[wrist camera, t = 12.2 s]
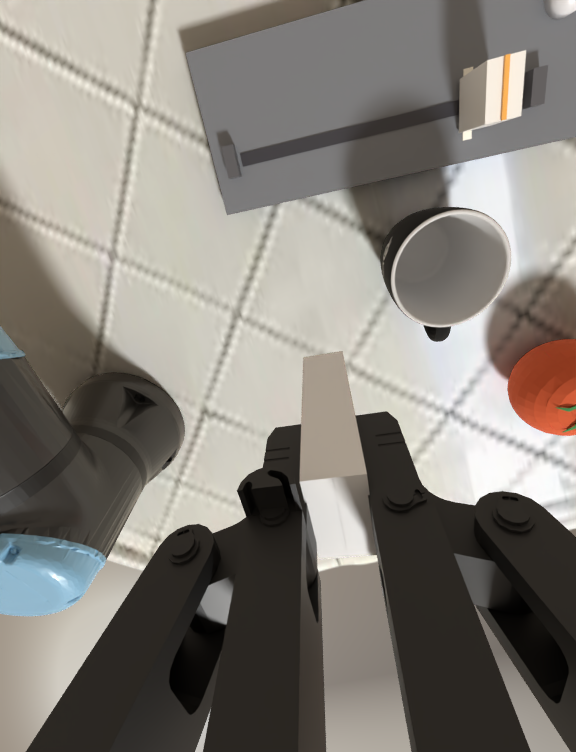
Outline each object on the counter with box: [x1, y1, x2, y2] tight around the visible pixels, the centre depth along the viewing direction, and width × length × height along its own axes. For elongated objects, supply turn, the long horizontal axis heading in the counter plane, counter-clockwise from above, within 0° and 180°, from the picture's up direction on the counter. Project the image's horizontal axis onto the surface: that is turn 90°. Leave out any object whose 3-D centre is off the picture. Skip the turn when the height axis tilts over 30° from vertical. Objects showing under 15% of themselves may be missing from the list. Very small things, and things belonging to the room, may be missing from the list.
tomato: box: [508, 339, 576, 436], centre depth 38 cm, size 10×10×10 cm
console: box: [186, 0, 576, 215], centre depth 29 cm, size 31×12×4 cm, turn 102°
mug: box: [381, 207, 511, 342], centre depth 33 cm, size 12×9×10 cm
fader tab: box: [459, 50, 526, 133], centre depth 27 cm, size 2×4×5 cm, turn 11°
